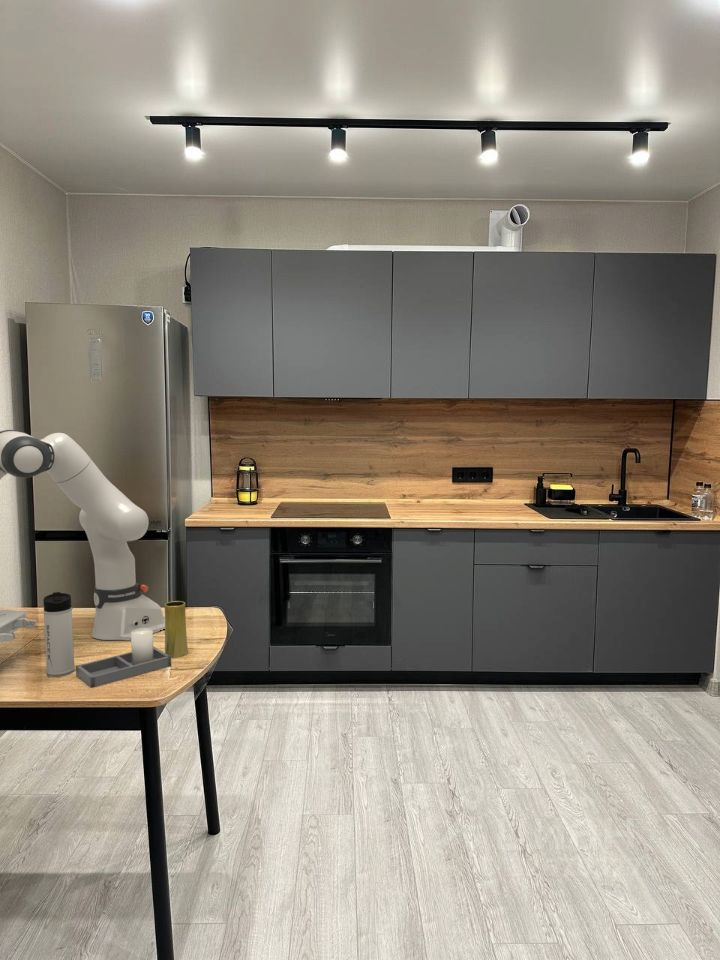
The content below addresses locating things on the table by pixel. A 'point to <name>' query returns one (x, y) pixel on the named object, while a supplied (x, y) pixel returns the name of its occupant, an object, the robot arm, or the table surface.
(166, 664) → the caddy
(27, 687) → the table surface
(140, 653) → the white cylinder
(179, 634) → the vase
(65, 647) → the travel mug
